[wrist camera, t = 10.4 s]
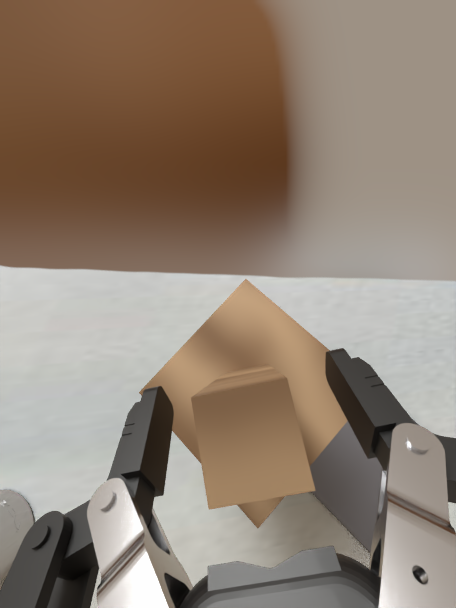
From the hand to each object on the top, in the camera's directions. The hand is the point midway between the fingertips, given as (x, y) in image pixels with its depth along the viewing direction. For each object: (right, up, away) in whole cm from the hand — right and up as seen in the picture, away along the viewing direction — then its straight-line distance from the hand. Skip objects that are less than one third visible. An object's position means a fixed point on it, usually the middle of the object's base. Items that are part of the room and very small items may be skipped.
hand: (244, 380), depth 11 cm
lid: (+1, -3, +6) cm, 7 cm away
